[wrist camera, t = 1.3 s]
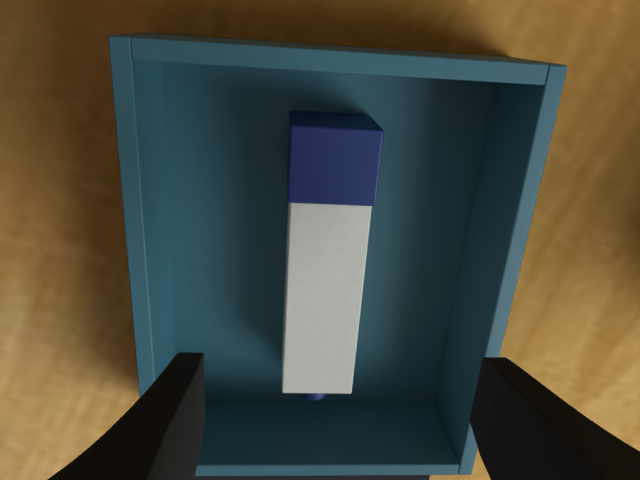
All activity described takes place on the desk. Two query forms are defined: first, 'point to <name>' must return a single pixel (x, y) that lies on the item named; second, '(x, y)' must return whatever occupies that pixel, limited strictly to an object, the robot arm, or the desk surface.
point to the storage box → (271, 238)
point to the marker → (326, 246)
